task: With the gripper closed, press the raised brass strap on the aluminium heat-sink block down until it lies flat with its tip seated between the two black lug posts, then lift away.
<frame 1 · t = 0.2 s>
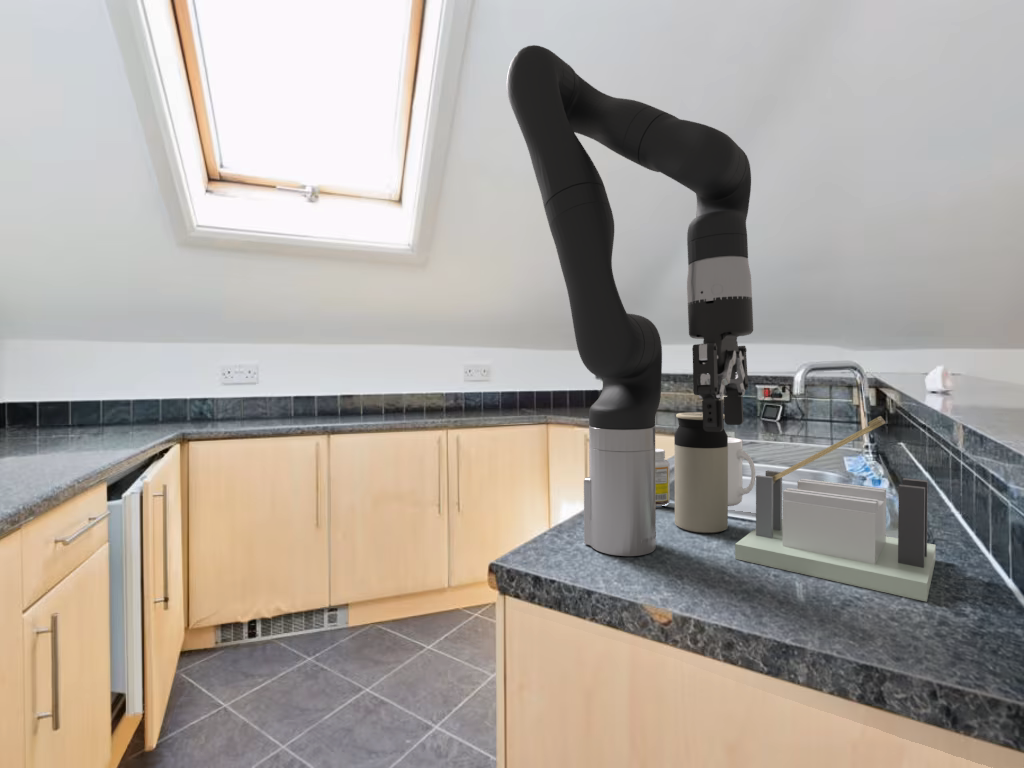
hand: (724, 427, 66), 18 cm above the counter, tool pointing down, fingers open, 8 cm apart
mug: (722, 502, 99), on the counter
supplement bottle: (654, 505, 98), on the counter
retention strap: (820, 453, 70), point 14 cm above the counter, hinge at 35.0°
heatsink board: (834, 559, 69), on the counter
travel mug: (700, 527, 84), on the counter
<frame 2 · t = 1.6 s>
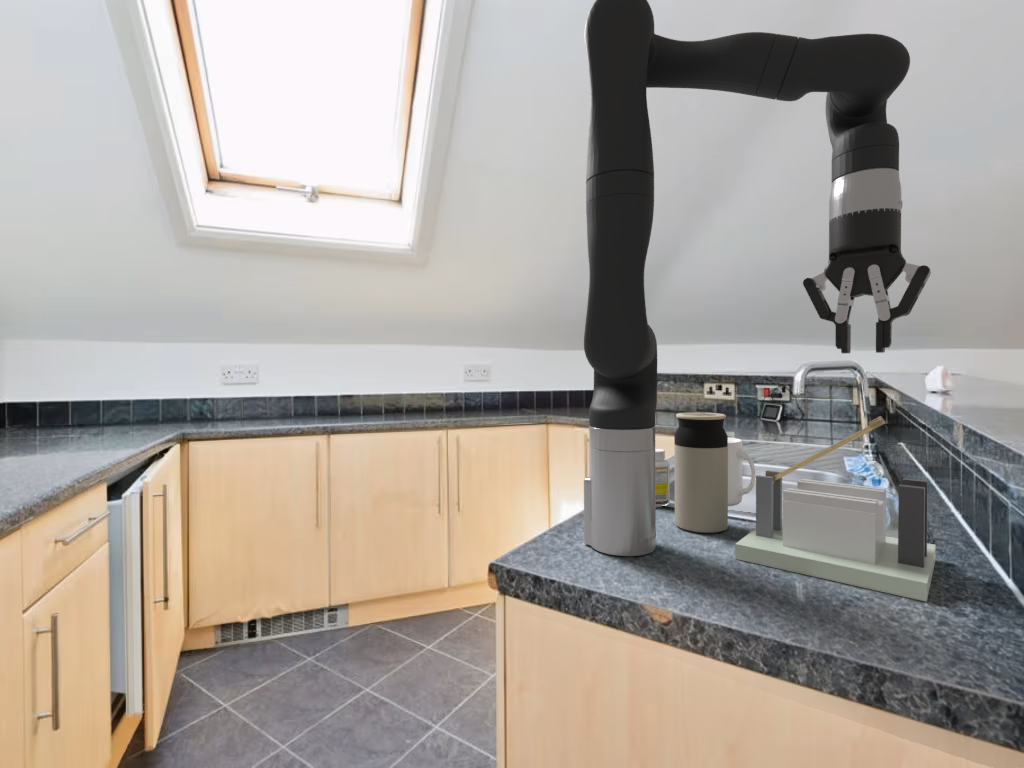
hand: (863, 352, 66), 27 cm above the counter, tool pointing down, fingers open, 3 cm apart
nothing on the counter moved.
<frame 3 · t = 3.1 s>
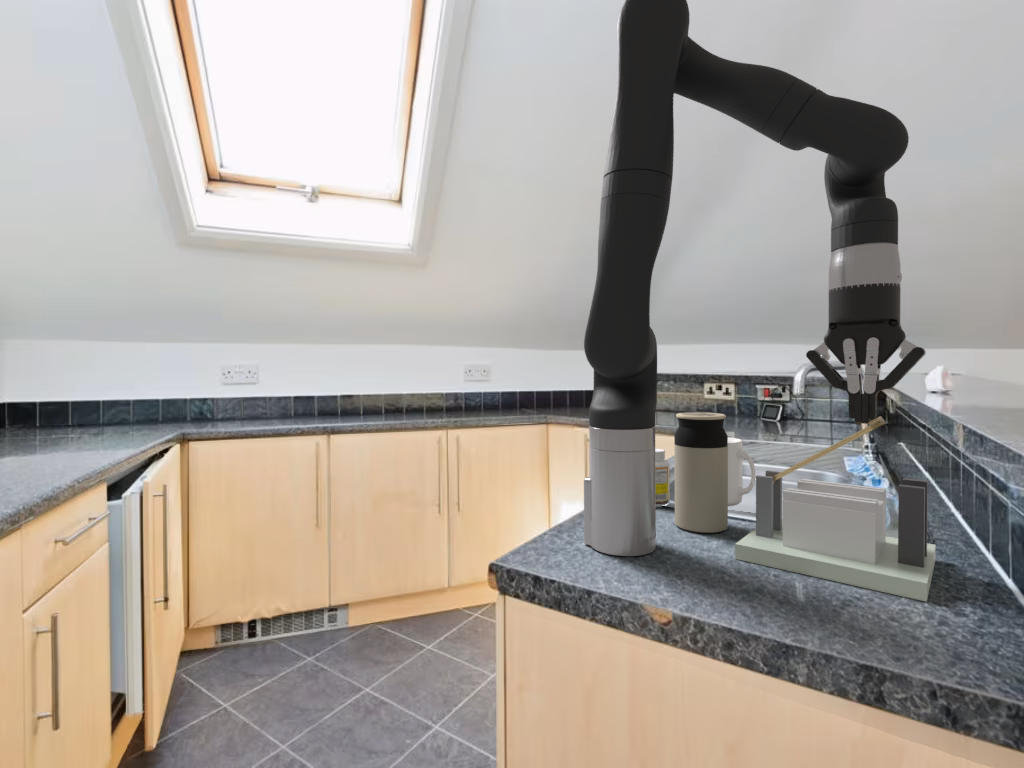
hand: (862, 422, 66), 18 cm above the counter, tool pointing down, fingers closed
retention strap: (820, 454, 70), point 14 cm above the counter, hinge at 34.9°, touching gripper
everything else where it was.
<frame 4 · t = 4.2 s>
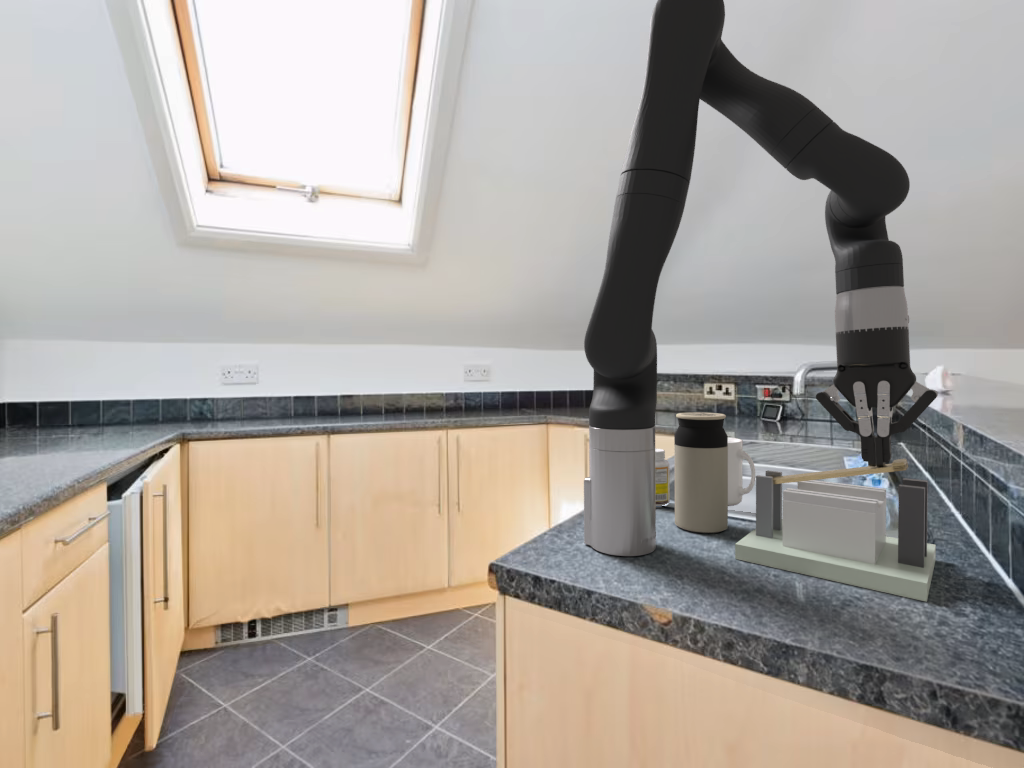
hand: (877, 465, 66), 13 cm above the counter, tool pointing down, fingers closed
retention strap: (830, 473, 69), point 11 cm above the counter, hinge at 14.1°, touching gripper
everything else where it was.
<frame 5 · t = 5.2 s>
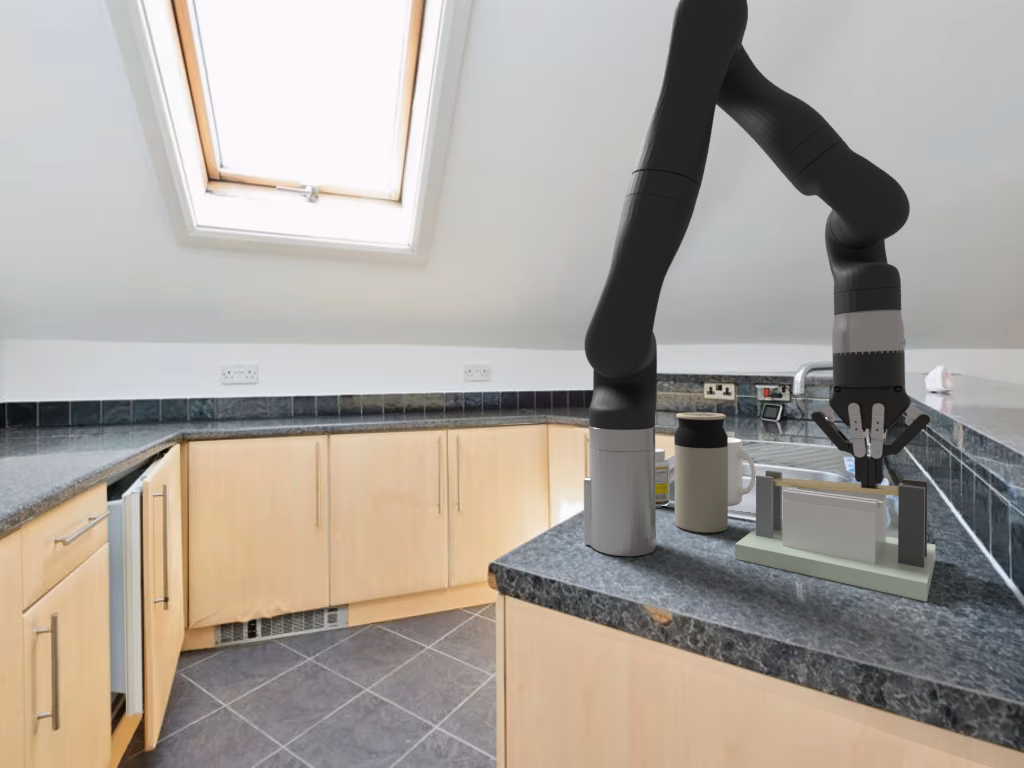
hand: (869, 486, 66), 10 cm above the counter, tool pointing down, fingers closed
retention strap: (832, 485, 69), point 10 cm above the counter, hinge at 2.9°, touching gripper
everything else where it was.
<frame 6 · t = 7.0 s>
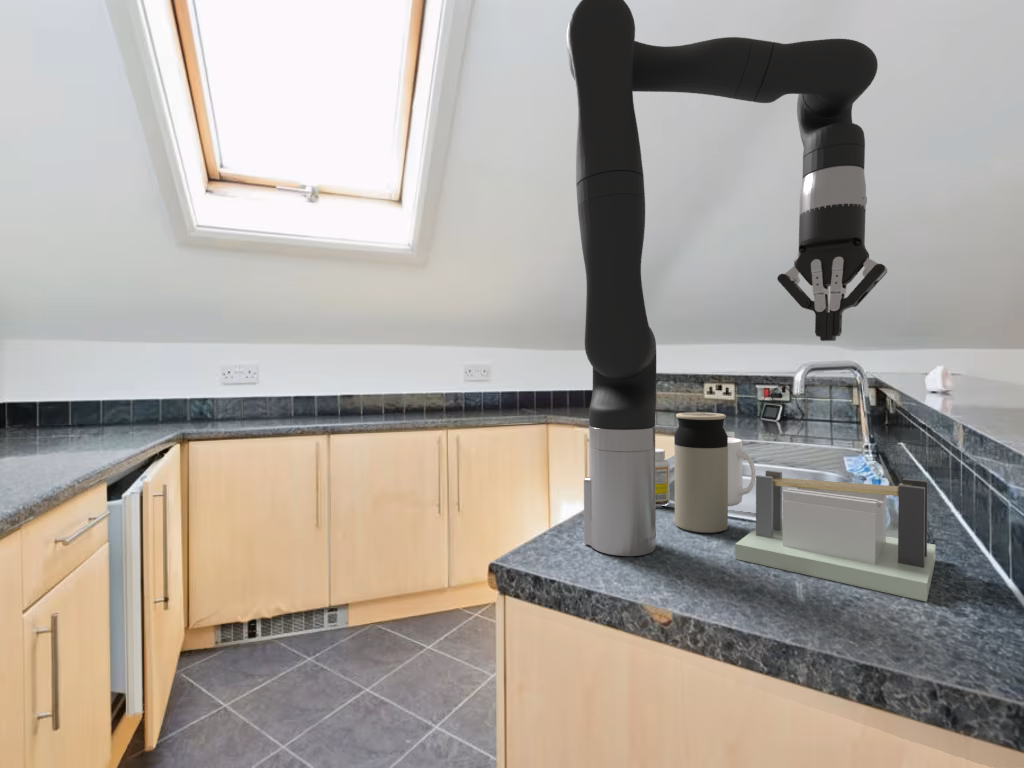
hand: (828, 340, 70), 29 cm above the counter, tool pointing down, fingers closed
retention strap: (832, 485, 69), point 10 cm above the counter, hinge at 2.9°
everything else where it was.
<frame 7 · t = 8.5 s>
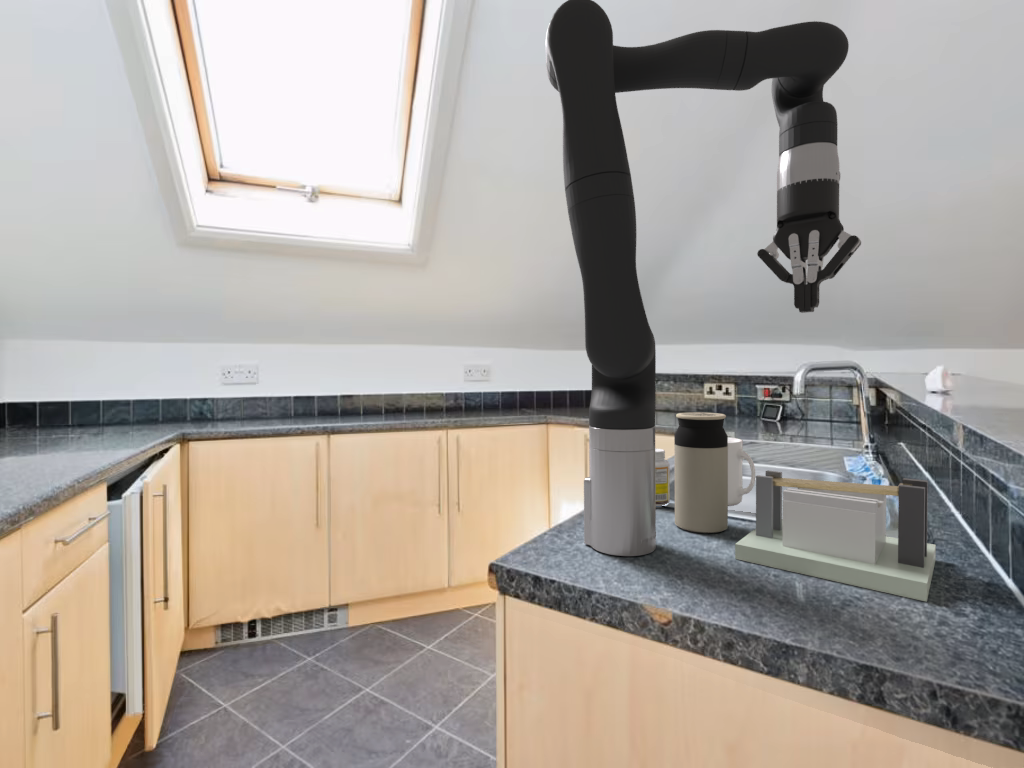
hand: (806, 311, 73), 33 cm above the counter, tool pointing down, fingers closed
nothing on the counter moved.
at the end: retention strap at +3° (first picture: +35°) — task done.
